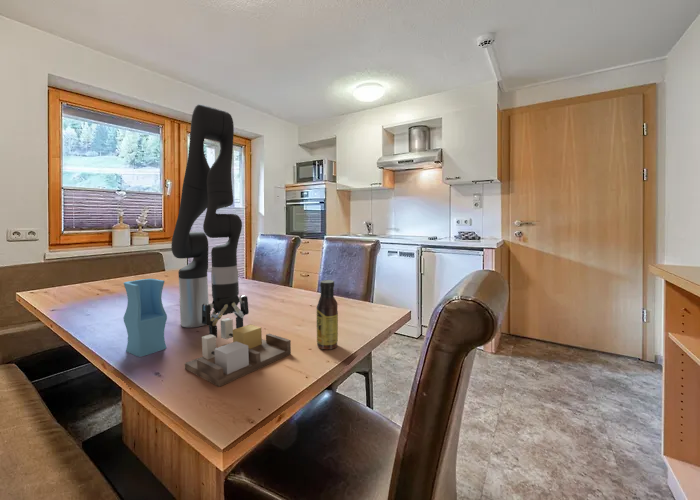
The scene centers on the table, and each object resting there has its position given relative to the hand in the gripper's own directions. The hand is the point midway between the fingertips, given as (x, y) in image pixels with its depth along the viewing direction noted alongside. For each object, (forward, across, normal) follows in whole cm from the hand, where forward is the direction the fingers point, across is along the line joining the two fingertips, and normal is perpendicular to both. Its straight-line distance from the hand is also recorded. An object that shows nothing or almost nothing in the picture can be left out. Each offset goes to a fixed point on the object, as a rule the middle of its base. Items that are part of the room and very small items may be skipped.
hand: (227, 333), depth 98 cm
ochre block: (+1, 0, +6) cm, 6 cm away
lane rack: (+3, +5, +14) cm, 15 cm away
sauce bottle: (+3, -16, +26) cm, 31 cm away
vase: (+3, +16, -14) cm, 22 cm away
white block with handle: (+2, +10, +14) cm, 17 cm away
